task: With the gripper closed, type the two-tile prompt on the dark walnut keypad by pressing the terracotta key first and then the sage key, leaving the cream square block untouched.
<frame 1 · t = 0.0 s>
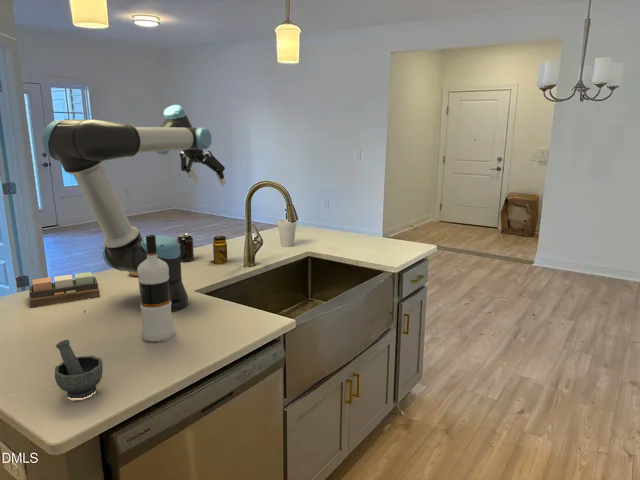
hand: (210, 183, 200), 36 cm above the worktop, tool tilted 35°, fingers open, 13 cm apart
keypad: (65, 296, 167), on the worktop
beverage can: (186, 261, 214), on the worktop
mortar and pestle: (80, 393, 107), on the worktop
sage key: (84, 278, 169), point 6 cm above the worktop, slide at 0.0 cm
vodka: (158, 336, 136), on the worktop
condiment: (218, 263, 211), on the worktop
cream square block: (63, 281, 166), point 6 cm above the worktop, slide at 0.0 cm
foam cup: (287, 245, 242), on the worktop
terracotta key: (42, 284, 163), point 6 cm above the worktop, slide at 0.0 cm
onion: (138, 275, 193), on the worktop
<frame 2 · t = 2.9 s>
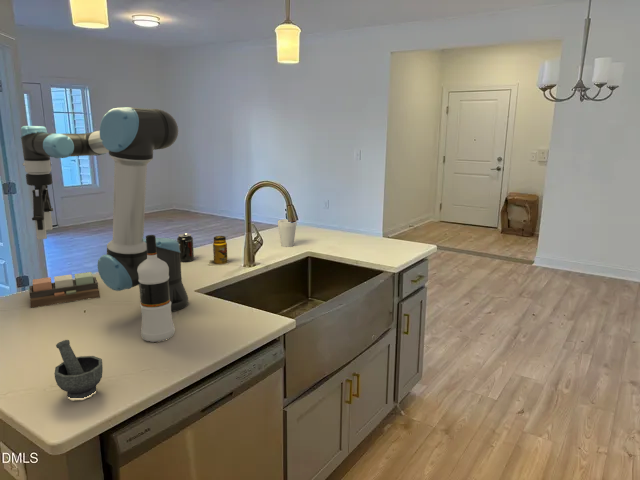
hand: (45, 234, 164), 22 cm above the worktop, tool pointing down, fingers open, 13 cm apart
nothing on the worktop moved.
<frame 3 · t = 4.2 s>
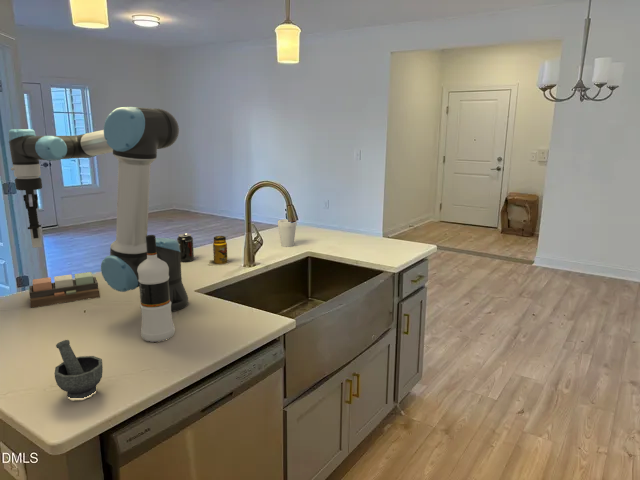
hand: (37, 246, 160), 19 cm above the worktop, tool pointing down, fingers closed
nothing on the worktop moved.
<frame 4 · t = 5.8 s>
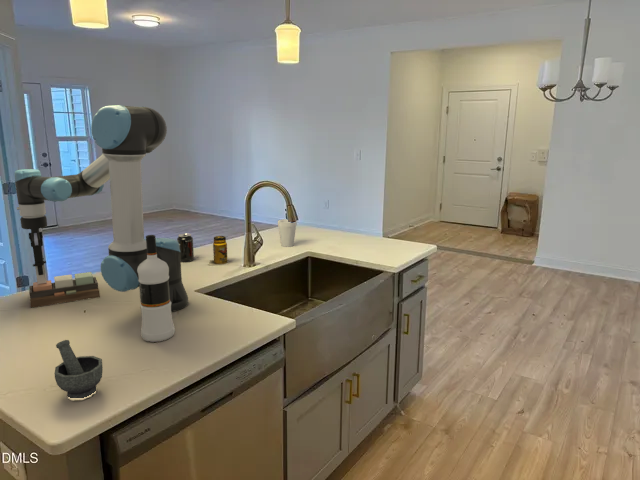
hand: (42, 282, 163), 6 cm above the worktop, tool pointing down, fingers closed
terracotta key: (42, 287, 163), point 4 cm above the worktop, slide at 1.1 cm, touching gripper
everything else where it was.
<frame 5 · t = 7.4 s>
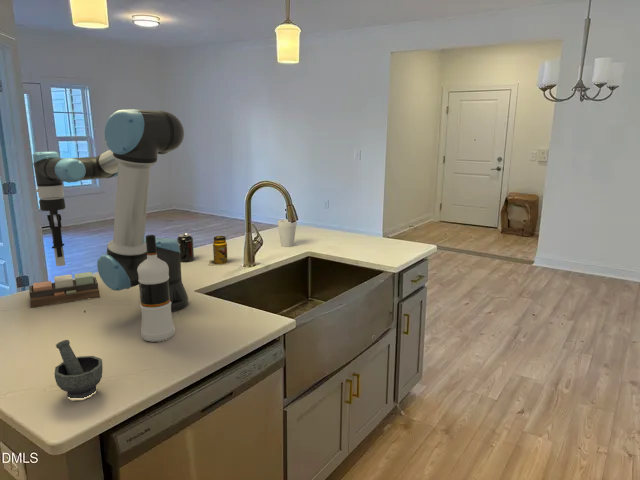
hand: (60, 265, 164), 12 cm above the worktop, tool pointing down, fingers closed
terracotta key: (42, 288, 163), point 4 cm above the worktop, slide at 1.4 cm
everything else where it was.
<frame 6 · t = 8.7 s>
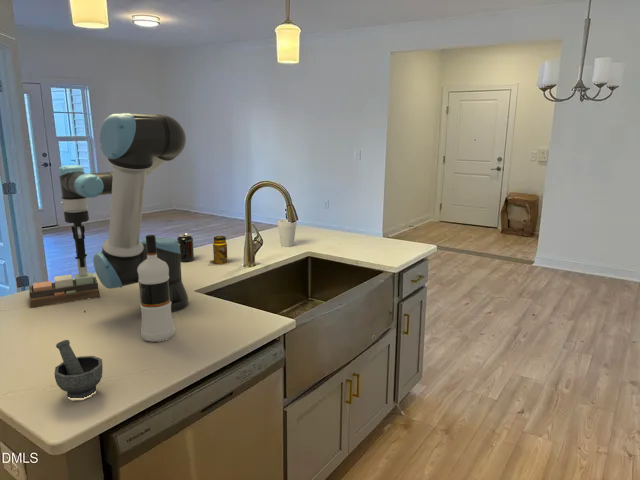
hand: (83, 275, 169), 7 cm above the worktop, tool pointing down, fingers closed
sage key: (84, 279, 169), point 5 cm above the worktop, slide at 0.3 cm, touching gripper
everything else where it was.
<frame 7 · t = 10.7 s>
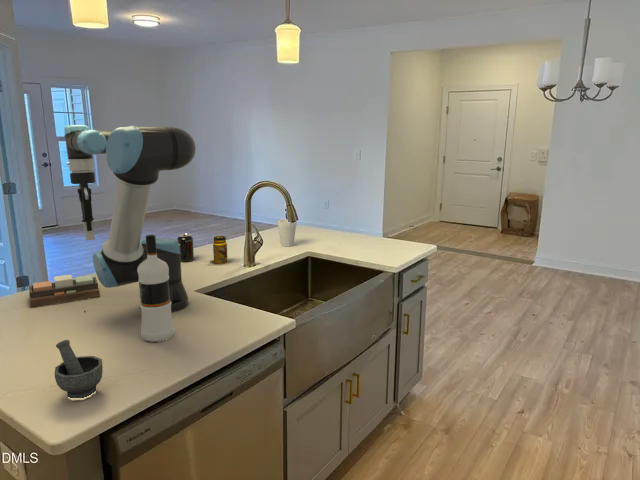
hand: (90, 239, 165), 20 cm above the worktop, tool pointing down, fingers closed
sage key: (84, 282, 170), point 4 cm above the worktop, slide at 1.4 cm
everything else where it was.
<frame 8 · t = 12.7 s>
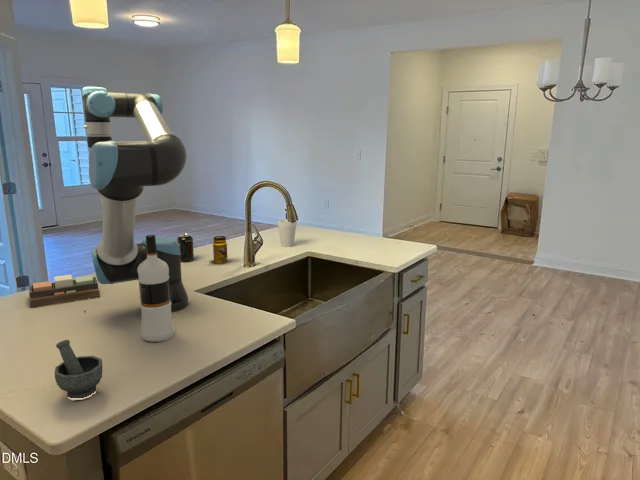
hand: (106, 205, 162), 32 cm above the worktop, tool pointing down, fingers closed
nothing on the worktop moved.
at the end: terracotta key slide at 1.4 cm; sage key slide at 1.4 cm; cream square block slide at 0.0 cm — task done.
